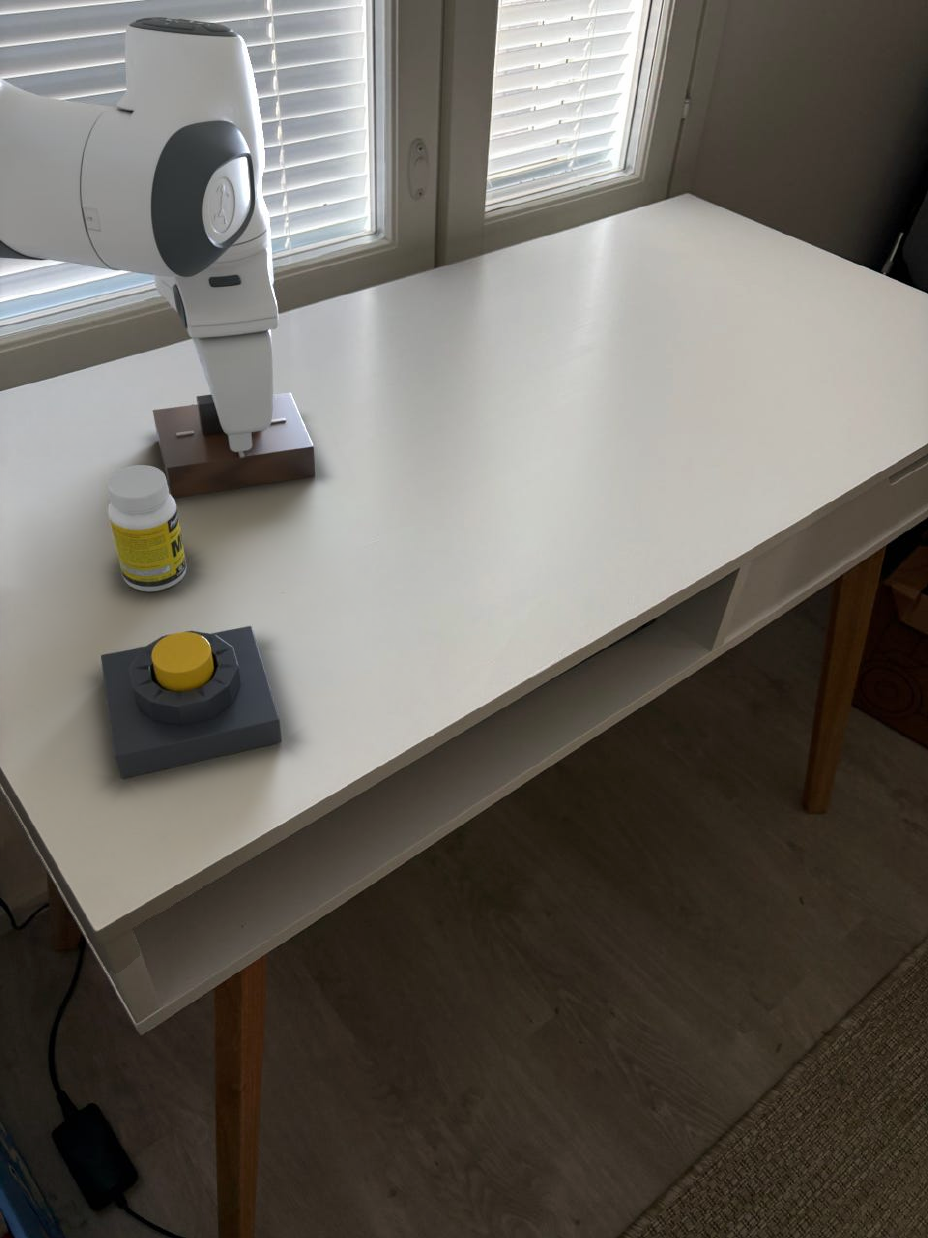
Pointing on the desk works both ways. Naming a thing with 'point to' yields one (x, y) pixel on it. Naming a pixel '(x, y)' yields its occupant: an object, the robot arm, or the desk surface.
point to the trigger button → (182, 661)
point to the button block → (189, 706)
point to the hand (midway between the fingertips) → (231, 421)
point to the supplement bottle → (146, 528)
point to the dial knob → (208, 415)
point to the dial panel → (216, 466)
